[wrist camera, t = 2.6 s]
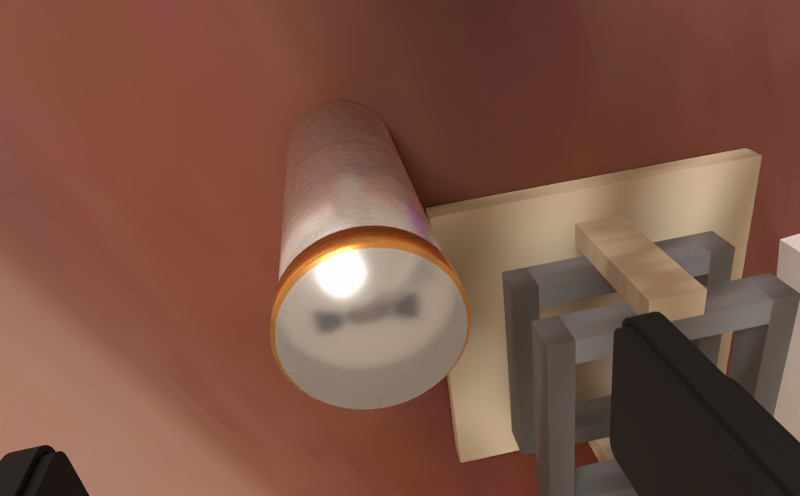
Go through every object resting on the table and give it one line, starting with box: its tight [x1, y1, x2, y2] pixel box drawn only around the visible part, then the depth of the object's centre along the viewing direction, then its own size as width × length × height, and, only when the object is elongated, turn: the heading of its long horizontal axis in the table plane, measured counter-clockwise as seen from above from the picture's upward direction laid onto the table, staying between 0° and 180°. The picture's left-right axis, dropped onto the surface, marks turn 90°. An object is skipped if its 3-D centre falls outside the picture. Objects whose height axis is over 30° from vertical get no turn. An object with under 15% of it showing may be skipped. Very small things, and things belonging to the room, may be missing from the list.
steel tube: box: [270, 100, 471, 410], centre depth 18 cm, size 4×4×12 cm
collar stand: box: [426, 148, 800, 496], centre depth 25 cm, size 14×14×7 cm
